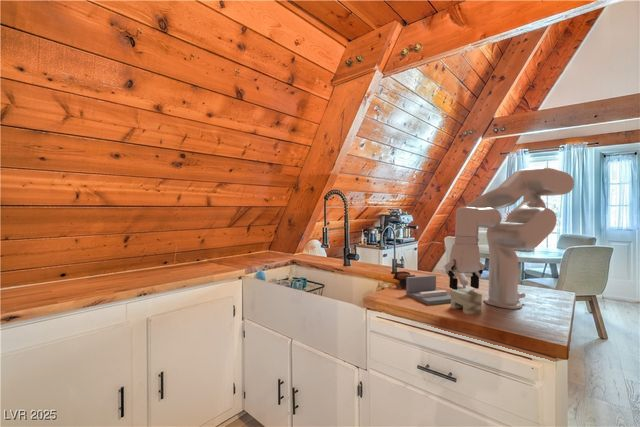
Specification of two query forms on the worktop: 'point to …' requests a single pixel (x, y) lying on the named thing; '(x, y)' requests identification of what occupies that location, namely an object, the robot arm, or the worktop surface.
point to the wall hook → (463, 282)
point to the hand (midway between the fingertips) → (464, 288)
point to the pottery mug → (402, 278)
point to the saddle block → (466, 300)
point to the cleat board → (426, 290)
